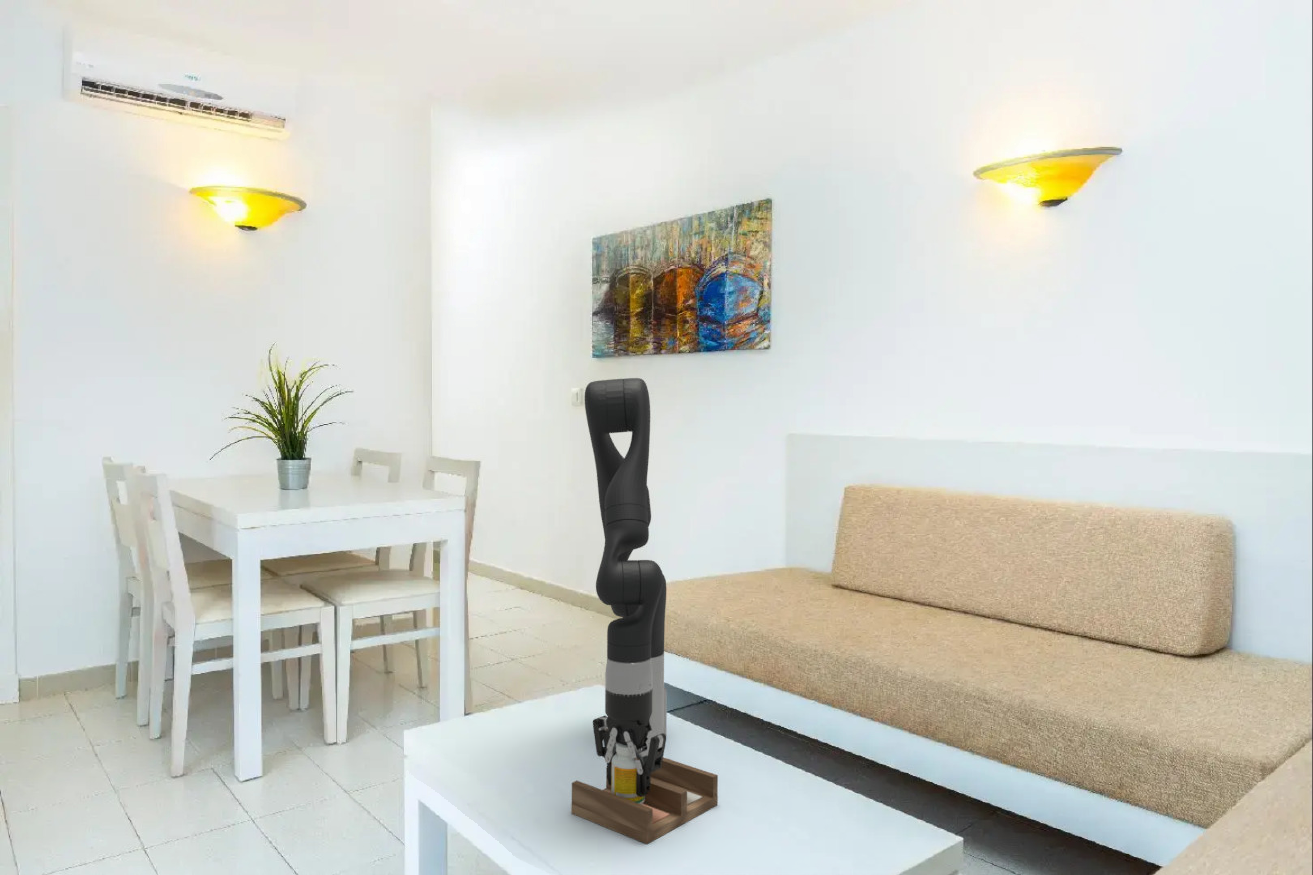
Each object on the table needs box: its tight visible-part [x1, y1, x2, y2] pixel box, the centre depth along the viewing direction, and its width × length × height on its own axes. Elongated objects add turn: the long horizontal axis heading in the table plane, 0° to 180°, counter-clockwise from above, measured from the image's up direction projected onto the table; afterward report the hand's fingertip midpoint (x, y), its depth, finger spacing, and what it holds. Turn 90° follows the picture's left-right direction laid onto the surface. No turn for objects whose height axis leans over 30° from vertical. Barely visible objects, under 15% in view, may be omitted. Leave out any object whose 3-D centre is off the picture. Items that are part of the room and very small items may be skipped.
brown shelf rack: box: [570, 756, 719, 845], centre depth 154 cm, size 18×16×5 cm
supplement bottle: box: [611, 743, 645, 805], centre depth 150 cm, size 5×5×10 cm
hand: (628, 789), depth 150 cm, fingers closed on supplement bottle, 5 cm apart
